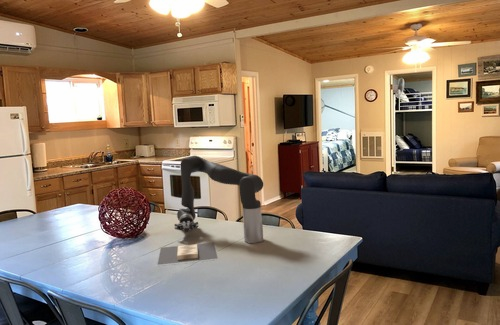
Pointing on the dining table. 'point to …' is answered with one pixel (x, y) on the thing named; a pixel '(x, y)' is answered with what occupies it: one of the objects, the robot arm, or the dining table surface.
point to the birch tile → (187, 252)
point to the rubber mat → (170, 256)
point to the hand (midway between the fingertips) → (186, 229)
